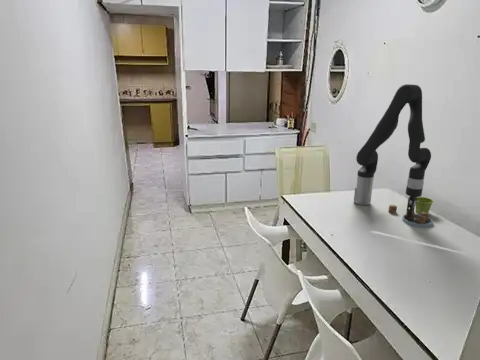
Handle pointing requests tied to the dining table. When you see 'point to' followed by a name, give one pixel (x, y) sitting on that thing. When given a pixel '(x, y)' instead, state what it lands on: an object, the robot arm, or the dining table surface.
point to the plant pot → (423, 204)
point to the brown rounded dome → (411, 217)
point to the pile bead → (392, 209)
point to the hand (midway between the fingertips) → (410, 215)
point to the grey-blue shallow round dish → (417, 223)
